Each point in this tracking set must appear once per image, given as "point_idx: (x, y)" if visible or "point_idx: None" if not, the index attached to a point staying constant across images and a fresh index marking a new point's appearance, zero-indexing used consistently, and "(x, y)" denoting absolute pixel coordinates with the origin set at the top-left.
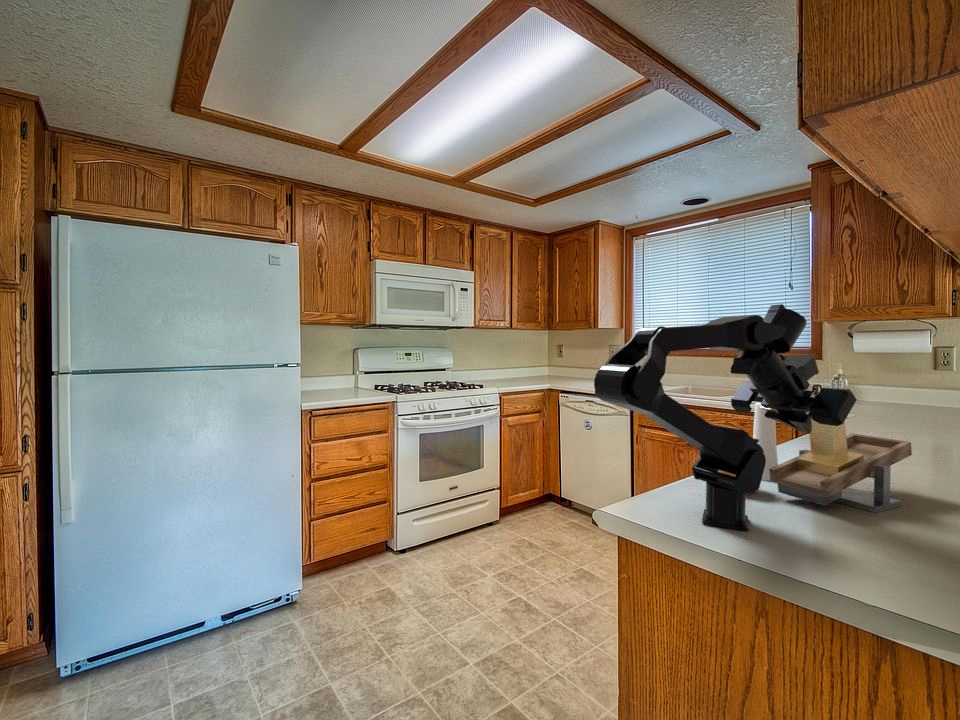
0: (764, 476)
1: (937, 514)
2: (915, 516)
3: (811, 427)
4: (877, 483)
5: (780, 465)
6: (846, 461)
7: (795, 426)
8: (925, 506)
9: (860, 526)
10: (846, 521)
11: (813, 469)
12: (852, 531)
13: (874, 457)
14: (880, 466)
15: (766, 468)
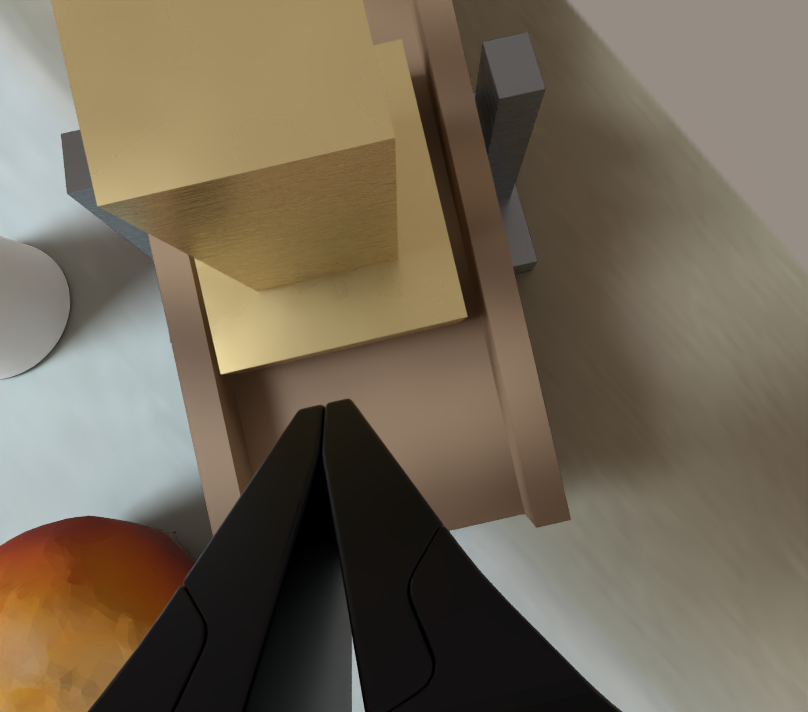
0: (33, 349)
1: (580, 67)
2: (587, 161)
3: (364, 421)
4: (501, 155)
5: (222, 504)
6: (425, 202)
7: (349, 677)
8: (500, 23)
9: (656, 472)
10: (599, 476)
11: (326, 352)
12: (701, 559)
13: (436, 12)
14: (527, 92)
15: (4, 328)
